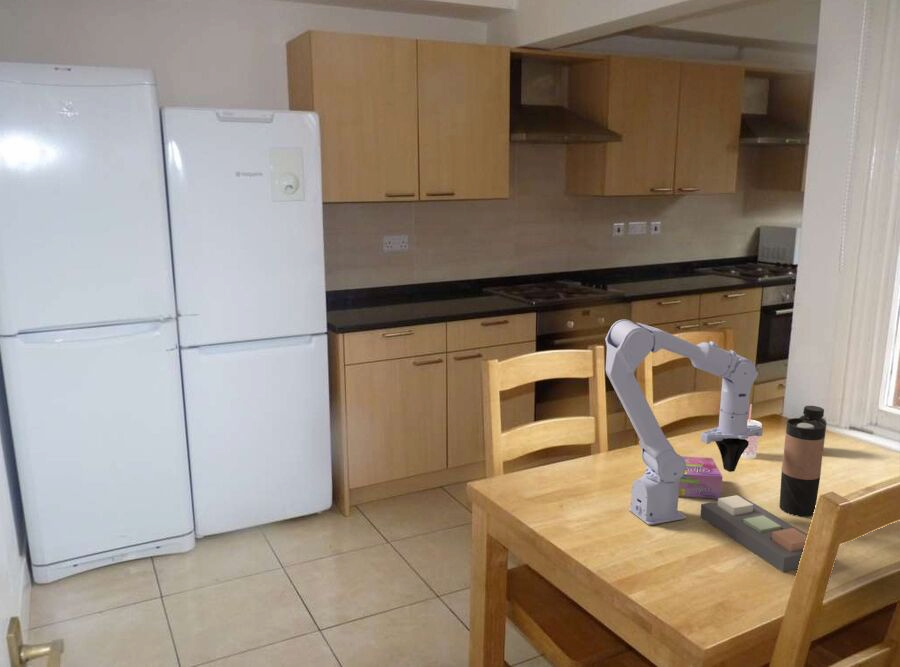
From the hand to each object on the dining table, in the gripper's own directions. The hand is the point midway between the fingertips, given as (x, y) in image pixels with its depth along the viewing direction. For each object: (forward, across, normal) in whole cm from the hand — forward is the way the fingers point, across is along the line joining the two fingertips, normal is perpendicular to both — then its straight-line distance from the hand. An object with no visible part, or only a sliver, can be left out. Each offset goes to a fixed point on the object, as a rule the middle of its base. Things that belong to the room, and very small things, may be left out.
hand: (729, 470), depth 160 cm
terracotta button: (+7, -2, -21) cm, 22 cm away
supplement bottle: (+10, +45, +22) cm, 51 cm away
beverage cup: (+10, +27, +25) cm, 38 cm away
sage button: (+8, -2, -13) cm, 15 cm away
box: (+6, +4, +18) cm, 19 cm away
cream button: (+7, -2, -5) cm, 9 cm away
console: (+9, -2, -13) cm, 16 cm away
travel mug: (+10, +15, -5) cm, 18 cm away
